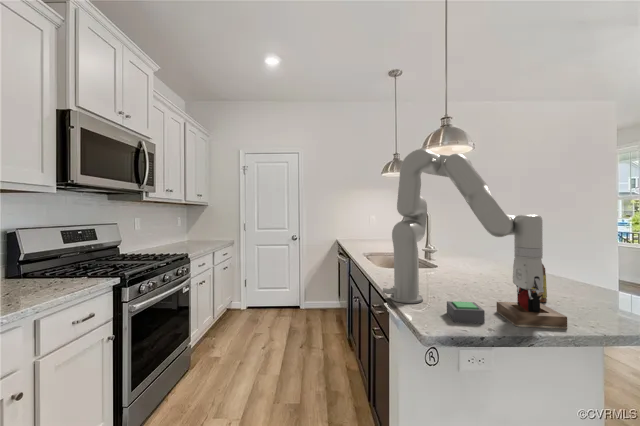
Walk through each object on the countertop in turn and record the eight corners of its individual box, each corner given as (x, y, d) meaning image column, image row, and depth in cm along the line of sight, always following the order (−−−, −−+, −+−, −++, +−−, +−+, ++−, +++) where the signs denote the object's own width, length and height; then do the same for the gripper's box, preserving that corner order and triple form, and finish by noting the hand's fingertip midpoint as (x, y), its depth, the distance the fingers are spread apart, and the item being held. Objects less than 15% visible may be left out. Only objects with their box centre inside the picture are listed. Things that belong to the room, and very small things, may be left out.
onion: (543, 314, 96) (543, 289, 96) (525, 314, 96) (525, 289, 96) (531, 308, 102) (531, 284, 102) (513, 308, 102) (513, 284, 102)
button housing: (454, 322, 97) (454, 309, 97) (446, 312, 106) (446, 301, 106) (484, 323, 95) (484, 310, 95) (474, 313, 104) (474, 302, 104)
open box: (516, 326, 93) (516, 314, 93) (496, 311, 107) (496, 301, 107) (567, 328, 91) (567, 316, 91) (540, 313, 104) (540, 303, 104)
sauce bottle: (540, 298, 122) (540, 249, 122) (550, 303, 116) (550, 251, 116) (523, 298, 123) (522, 249, 123) (532, 302, 117) (532, 250, 117)
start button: (457, 316, 98) (457, 306, 98) (452, 310, 104) (452, 301, 104) (477, 316, 97) (477, 307, 97) (471, 310, 103) (471, 302, 103)
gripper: (503, 249, 108) (503, 300, 108) (529, 256, 91) (529, 317, 91) (526, 249, 107) (526, 301, 107) (557, 256, 90) (557, 318, 90)
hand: (528, 308), depth 99 cm, fingers closed on onion, 5 cm apart
